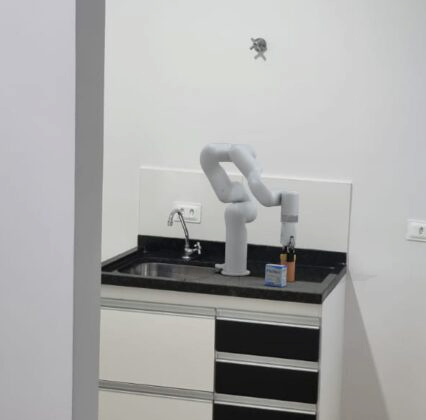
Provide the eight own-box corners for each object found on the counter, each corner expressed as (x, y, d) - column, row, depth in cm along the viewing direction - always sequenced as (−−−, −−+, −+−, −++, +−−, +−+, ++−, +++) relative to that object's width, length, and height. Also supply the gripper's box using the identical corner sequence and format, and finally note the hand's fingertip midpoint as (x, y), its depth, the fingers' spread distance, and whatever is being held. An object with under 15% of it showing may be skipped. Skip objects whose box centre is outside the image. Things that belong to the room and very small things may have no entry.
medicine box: (264, 285, 358) (265, 264, 357) (269, 283, 362) (270, 263, 361) (281, 287, 354) (282, 266, 354) (286, 285, 358) (287, 265, 358)
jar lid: (279, 259, 368) (279, 255, 368) (281, 257, 374) (281, 253, 374) (295, 260, 368) (295, 256, 367) (296, 258, 374) (296, 254, 374)
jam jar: (279, 281, 369) (280, 256, 368) (280, 278, 375) (281, 254, 374) (293, 281, 369) (294, 257, 368) (295, 279, 375) (295, 255, 374)
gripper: (276, 217, 377) (274, 257, 378) (286, 221, 360) (284, 263, 362) (292, 217, 379) (291, 257, 380) (303, 221, 362) (301, 263, 364)
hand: (288, 260), depth 371 cm, fingers closed on jar lid, 6 cm apart
